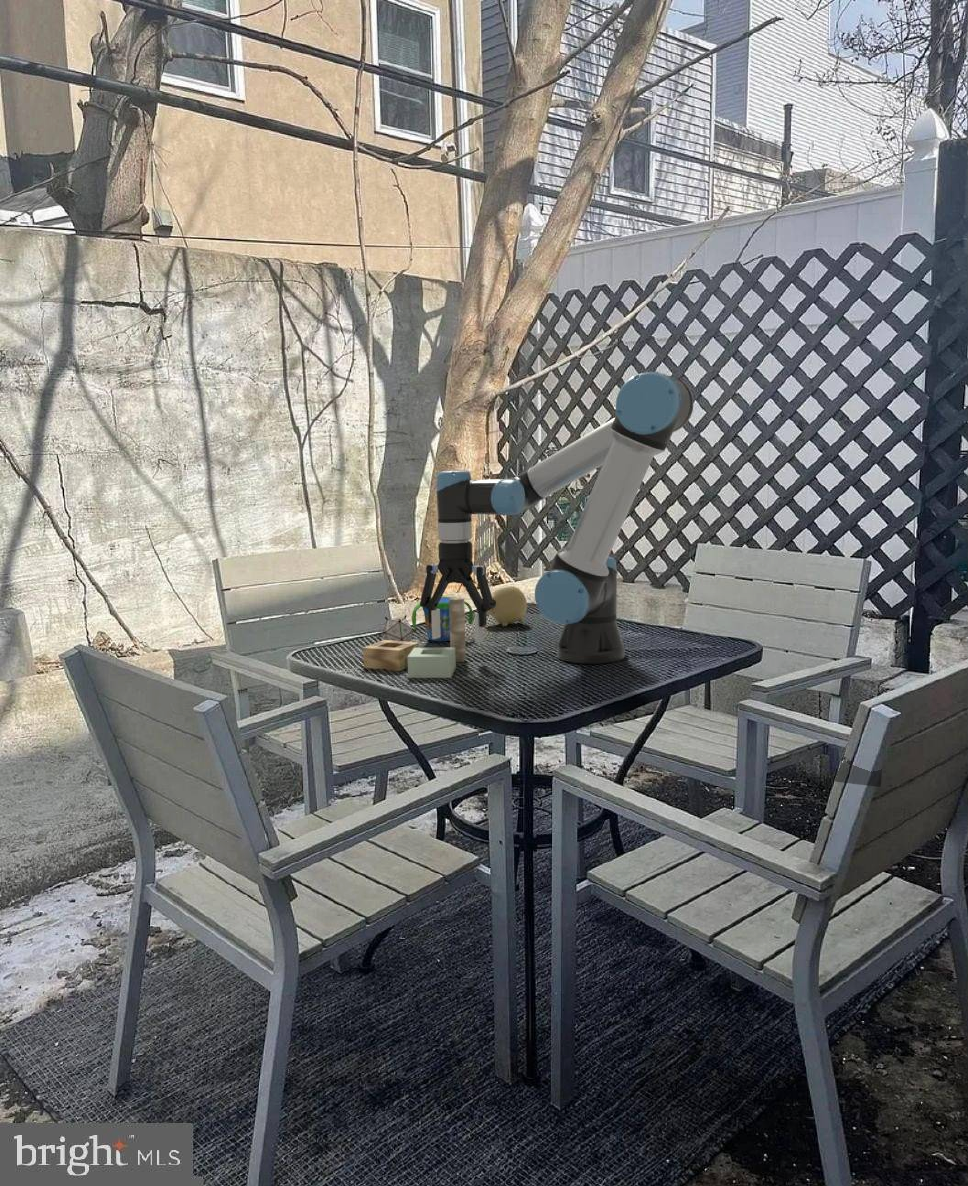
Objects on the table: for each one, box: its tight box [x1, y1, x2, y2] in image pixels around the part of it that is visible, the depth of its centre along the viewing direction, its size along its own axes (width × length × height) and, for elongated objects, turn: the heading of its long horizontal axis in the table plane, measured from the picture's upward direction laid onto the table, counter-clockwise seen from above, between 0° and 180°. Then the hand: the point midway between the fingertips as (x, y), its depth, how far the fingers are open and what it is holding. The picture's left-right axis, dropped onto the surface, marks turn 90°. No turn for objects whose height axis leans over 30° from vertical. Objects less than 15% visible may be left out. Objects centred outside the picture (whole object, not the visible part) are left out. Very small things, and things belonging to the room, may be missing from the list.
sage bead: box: [407, 647, 457, 679], centre depth 197 cm, size 9×9×4 cm
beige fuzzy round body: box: [487, 585, 528, 627], centre depth 249 cm, size 10×12×11 cm
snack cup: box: [411, 596, 474, 643], centre depth 231 cm, size 16×10×10 cm
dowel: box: [449, 597, 467, 663], centre depth 207 cm, size 3×3×14 cm
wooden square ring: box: [362, 639, 420, 672], centre depth 205 cm, size 9×9×4 cm
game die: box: [378, 614, 418, 642], centre depth 221 cm, size 9×8×10 cm
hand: (457, 639), depth 208 cm, fingers open, 10 cm apart
